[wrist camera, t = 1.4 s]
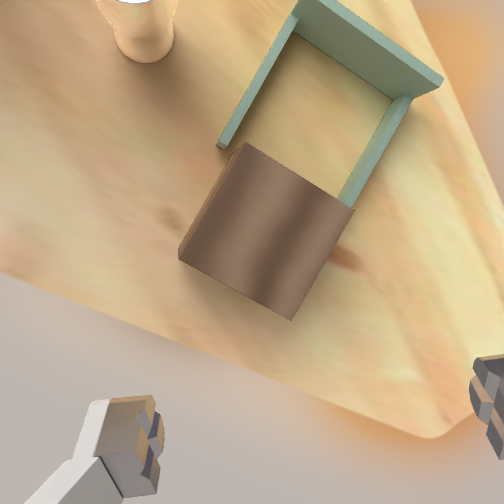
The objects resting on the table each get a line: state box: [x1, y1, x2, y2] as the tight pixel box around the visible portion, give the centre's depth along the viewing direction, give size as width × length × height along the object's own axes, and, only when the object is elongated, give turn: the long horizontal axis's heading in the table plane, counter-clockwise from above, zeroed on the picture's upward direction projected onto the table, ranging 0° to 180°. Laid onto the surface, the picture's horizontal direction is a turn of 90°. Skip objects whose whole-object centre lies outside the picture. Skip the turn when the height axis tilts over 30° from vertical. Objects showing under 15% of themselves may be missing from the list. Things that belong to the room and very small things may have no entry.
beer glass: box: [95, 0, 178, 63], centre depth 40 cm, size 7×7×15 cm
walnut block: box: [178, 142, 355, 321], centre depth 46 cm, size 12×12×10 cm
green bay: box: [216, 0, 444, 208], centre depth 47 cm, size 16×16×8 cm
